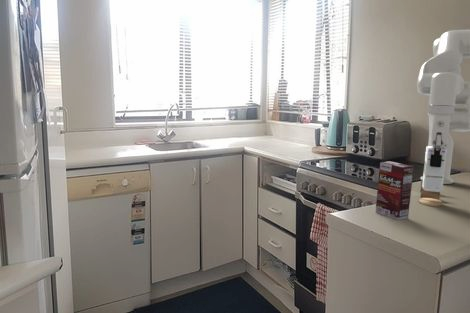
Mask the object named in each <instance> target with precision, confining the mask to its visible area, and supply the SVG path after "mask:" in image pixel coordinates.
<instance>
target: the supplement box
mask: <svg viewBox="0 0 470 313" xmlns="http://www.w3.org/2000/svg"><path fill="white" fill-rule="evenodd" d="M414 168H415V166H414V165H410V164H406V163H405V164H404V163H399V162H394V161H389V160H388V161H381V162H379V170H378V180H377V192H376V202H375V203H376V204H375V213H376V214H379V215H382V216H385V217H388V218H391V219H393V220H396V221H402V220H406V219H408V218H409V212H410V204H411V195H412V194H411V193H412V185H413V176H414Z"/></svg>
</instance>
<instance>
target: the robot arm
mask: <svg viewBox="0 0 470 313" xmlns="http://www.w3.org/2000/svg"><path fill="white" fill-rule="evenodd" d="M432 54H433V57H431V58H429V59H428V60H427V61H425V62H424V63H423V64H422V66H421V67H420V70H419V73H418V77H417V81H416V89H417V90H416V91H417V92H418V93H419V95H422V96H429V100H428V107H427V108H428V110H427V116H428V132H429V133H428V141H427V142H428V143H427V146H433V148H432V154H431V159H430V166H431V167H441V161H442V147H444V148H445V149H447V152H446V162H445V172H444V181H443V185H452V184H453V183H454V179H452V178H450V177H451V168H452V161H453V151H454V146H455V145H454V143H455V142H454V139H453V137H452V136H451V135H450V132H466V133H467V132H470V80H469V81H465V79H464V78H463V76H462V75H461V73H462V68H461V66H460V65H461V63H462V62H463V59H470V29H453V30H451V29H450V30H447V31H446V32H444V33H443V34H441V36H440V37H438V38H436V39H435V40H434V41H433V44H432ZM457 105H458V106H459V105H461V106H464V107H465V108H463V107H455V106H457ZM422 179H423V175H422V176H420V180H421V181H422Z"/></svg>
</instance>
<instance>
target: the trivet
mask: <svg viewBox="0 0 470 313" xmlns="http://www.w3.org/2000/svg"><path fill="white" fill-rule="evenodd" d="M418 202H419V204H421V205H423V204H424V206H429V207H442V206H443V201H442V200H440V199H439V200H437V199H432V198H421V197H420V198H419V200H418Z"/></svg>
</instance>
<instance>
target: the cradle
mask: <svg viewBox="0 0 470 313" xmlns="http://www.w3.org/2000/svg"><path fill="white" fill-rule="evenodd" d="M422 182H423V179H422V180H421V183H420V198H432V199H437V200H440V199H441V198H440V197H441V192H432V191H425V190H423V188H422Z"/></svg>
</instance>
